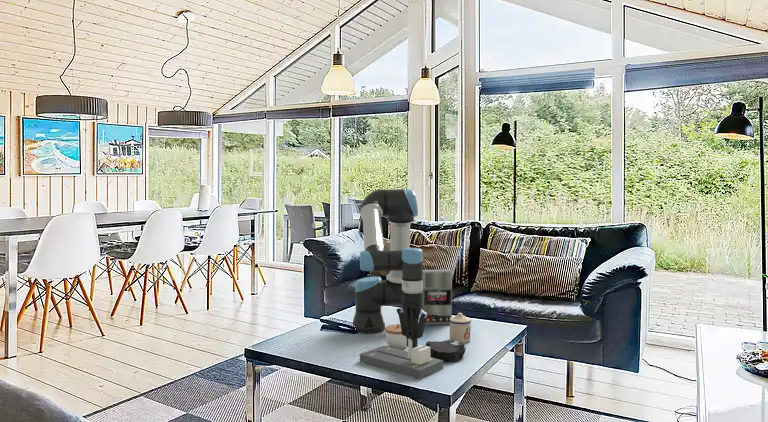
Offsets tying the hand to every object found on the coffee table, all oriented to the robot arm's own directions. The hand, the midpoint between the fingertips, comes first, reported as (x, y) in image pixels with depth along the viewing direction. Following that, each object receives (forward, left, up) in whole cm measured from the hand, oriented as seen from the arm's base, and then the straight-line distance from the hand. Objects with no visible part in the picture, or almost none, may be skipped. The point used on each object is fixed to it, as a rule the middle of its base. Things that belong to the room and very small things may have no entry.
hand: (412, 356), depth 208 cm
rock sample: (+1, +20, -5) cm, 21 cm away
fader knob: (+4, 0, -1) cm, 4 cm away
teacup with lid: (-6, +42, -5) cm, 43 cm away
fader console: (-5, 0, -5) cm, 7 cm away
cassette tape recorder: (-29, +57, -5) cm, 64 cm away
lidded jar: (-20, +17, -5) cm, 27 cm away
